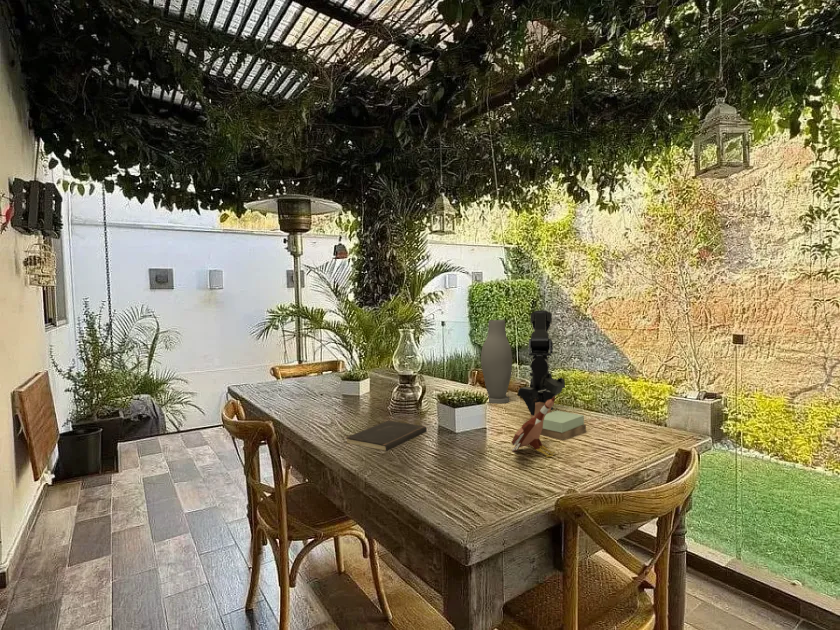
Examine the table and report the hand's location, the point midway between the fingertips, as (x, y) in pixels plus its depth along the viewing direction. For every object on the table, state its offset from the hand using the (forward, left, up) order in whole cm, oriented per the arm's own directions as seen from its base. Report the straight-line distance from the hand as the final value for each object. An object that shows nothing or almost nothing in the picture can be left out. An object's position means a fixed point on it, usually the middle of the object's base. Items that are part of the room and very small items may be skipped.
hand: (540, 413), depth 169 cm
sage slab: (+8, +14, 0) cm, 16 cm away
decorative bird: (+31, +21, -3) cm, 38 cm away
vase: (-12, -32, -3) cm, 34 cm away
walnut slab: (+8, +14, -3) cm, 17 cm away
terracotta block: (0, 0, -3) cm, 3 cm away
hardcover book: (+53, -21, -3) cm, 57 cm away
